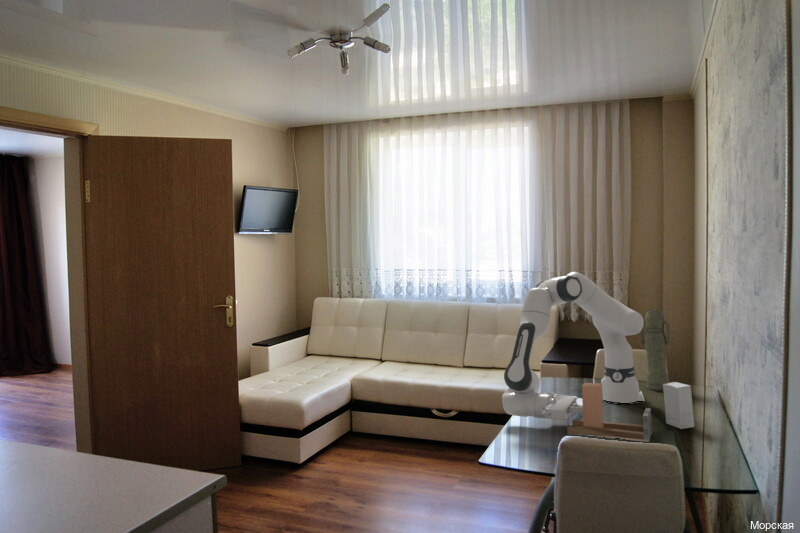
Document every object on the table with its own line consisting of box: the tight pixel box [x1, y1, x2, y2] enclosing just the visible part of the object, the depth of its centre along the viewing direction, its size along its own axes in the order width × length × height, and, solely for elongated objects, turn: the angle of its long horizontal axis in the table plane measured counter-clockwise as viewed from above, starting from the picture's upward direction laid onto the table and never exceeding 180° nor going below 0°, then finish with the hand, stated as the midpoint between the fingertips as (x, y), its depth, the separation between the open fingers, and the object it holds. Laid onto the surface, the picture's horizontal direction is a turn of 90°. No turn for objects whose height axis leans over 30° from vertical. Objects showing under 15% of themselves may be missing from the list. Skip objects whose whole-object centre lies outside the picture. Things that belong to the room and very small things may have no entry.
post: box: [581, 382, 605, 428], centre depth 210 cm, size 5×6×16 cm
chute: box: [566, 407, 653, 443], centre depth 208 cm, size 10×26×9 cm, turn 62°
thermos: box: [640, 309, 671, 392], centre depth 266 cm, size 9×12×35 cm
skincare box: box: [662, 381, 695, 430], centre depth 213 cm, size 8×6×15 cm
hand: (584, 409), depth 212 cm, fingers closed, pressing on post
